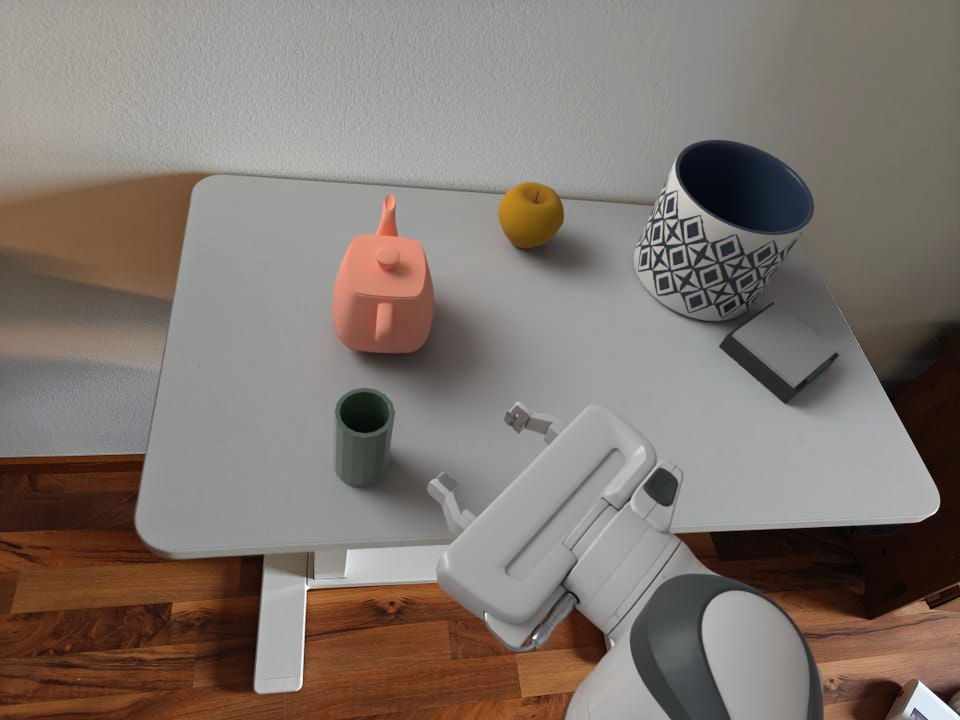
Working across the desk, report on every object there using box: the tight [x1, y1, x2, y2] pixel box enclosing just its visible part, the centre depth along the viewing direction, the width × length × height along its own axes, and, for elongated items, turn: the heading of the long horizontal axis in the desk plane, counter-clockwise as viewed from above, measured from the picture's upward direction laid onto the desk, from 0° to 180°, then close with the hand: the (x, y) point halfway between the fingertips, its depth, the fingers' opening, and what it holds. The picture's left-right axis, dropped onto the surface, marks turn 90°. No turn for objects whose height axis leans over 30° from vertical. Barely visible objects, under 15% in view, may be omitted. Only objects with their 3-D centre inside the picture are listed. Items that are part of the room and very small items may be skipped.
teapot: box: [331, 193, 435, 354], centre depth 85 cm, size 20×12×12 cm, turn 3°
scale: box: [718, 301, 840, 405], centre depth 95 cm, size 11×11×3 cm
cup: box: [333, 387, 396, 488], centre depth 73 cm, size 6×6×10 cm
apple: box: [497, 181, 565, 250], centre depth 99 cm, size 9×9×9 cm
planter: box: [632, 139, 815, 322], centre depth 97 cm, size 18×18×16 cm
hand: (473, 443), depth 58 cm, fingers open, 8 cm apart
